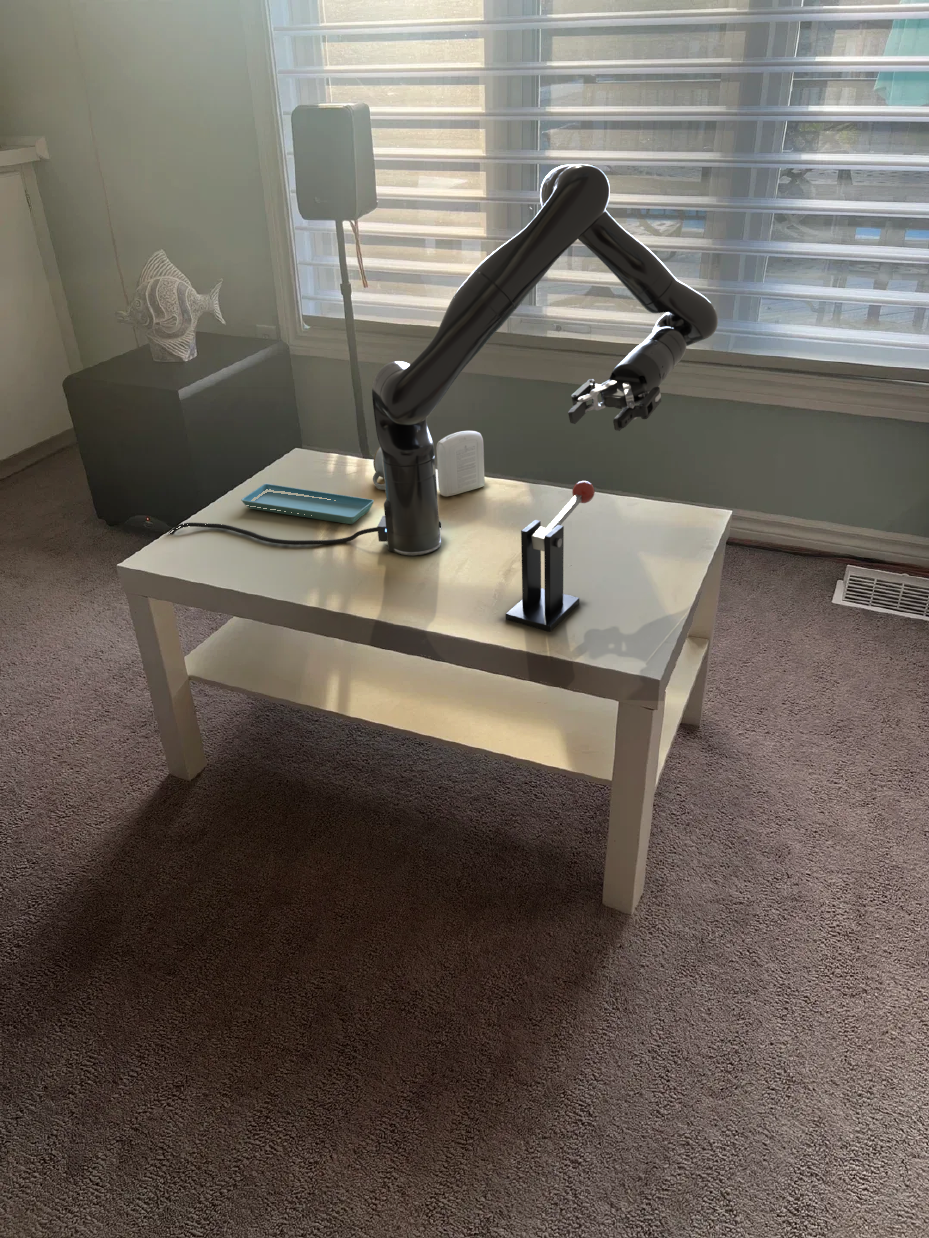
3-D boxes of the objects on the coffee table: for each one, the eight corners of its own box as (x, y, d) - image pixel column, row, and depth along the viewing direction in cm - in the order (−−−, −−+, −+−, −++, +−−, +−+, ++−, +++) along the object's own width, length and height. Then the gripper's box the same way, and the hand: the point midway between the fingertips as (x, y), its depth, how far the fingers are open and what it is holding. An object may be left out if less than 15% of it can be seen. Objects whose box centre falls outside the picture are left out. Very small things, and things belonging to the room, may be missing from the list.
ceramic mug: (391, 470, 202) (387, 437, 198) (423, 475, 199) (420, 441, 195) (364, 488, 195) (360, 454, 190) (396, 494, 191) (392, 459, 187)
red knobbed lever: (579, 493, 152) (577, 475, 149) (598, 497, 150) (597, 478, 148) (528, 551, 141) (526, 531, 139) (549, 556, 139) (547, 536, 137)
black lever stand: (536, 592, 152) (535, 511, 145) (579, 604, 148) (581, 520, 141) (505, 620, 145) (502, 535, 138) (550, 632, 141) (550, 546, 134)
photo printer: (476, 480, 195) (474, 424, 189) (488, 486, 192) (486, 429, 185) (435, 493, 190) (431, 435, 184) (446, 499, 187) (443, 441, 181)
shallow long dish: (376, 508, 185) (374, 497, 184) (354, 527, 178) (352, 515, 176) (267, 494, 194) (265, 483, 193) (241, 511, 187) (239, 499, 186)
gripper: (603, 348, 158) (552, 397, 150) (677, 355, 150) (628, 407, 142) (609, 386, 163) (561, 436, 155) (682, 395, 155) (634, 448, 147)
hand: (593, 422), depth 149 cm, fingers open, 8 cm apart
